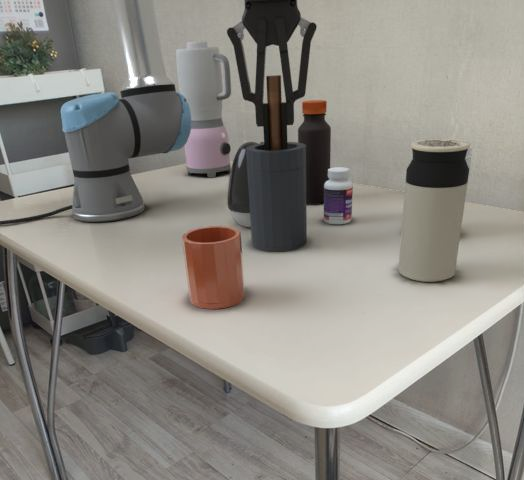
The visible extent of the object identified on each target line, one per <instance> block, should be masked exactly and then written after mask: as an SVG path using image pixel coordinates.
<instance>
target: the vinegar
mask: <svg viewBox="0 0 524 480" xmlns="http://www.w3.org/2000/svg"><path fill="white" fill-rule="evenodd" d="M327 103H328V102H327V100H323V99H312V100H311V99H310V100H304V101H302V102H301V107H302V108H301V111H302V113H301V114H302V117H303V122H302V123H301V124H300V125H299V127H298V129H297V142H298V143H303V144H305V145H306V205H321V204H324V184H325V182H326V181H328V180H329V178H328V169H330V168H331V152H332V151H331V149H332V148H331V147H332V146H331V145H332V143H331V142H332V139H331V137H332V127H331V125H330V124H329V123H328V122H327V121H326V115H327Z"/></svg>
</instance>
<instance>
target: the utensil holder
mask: <svg viewBox="0 0 524 480" xmlns="http://www.w3.org/2000/svg"><path fill="white" fill-rule="evenodd" d="M287 144H288V147H287V149H283V150H264V143H261V144H260V143H259V144H255V145H251V146H249V147H247V148H246V159H247V175H248V191H249V207H250V223H251V228H250V237H251V239H250V240H251V245H252V247H253V248H255V249H256V250H258V251H264V252H274V253H279V252H281V253H282V252H290V251H295V250H298V249H300V248H303V247H304V246H306V244H307V243H308V241H307V240H308V239H307V238H308V237H307V234H308V233H307V232H308V231H307V229H308V227H307V225H308V223H307V204H306V145H305V144H303V143H298V141H287Z"/></svg>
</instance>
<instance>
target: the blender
mask: <svg viewBox="0 0 524 480" xmlns="http://www.w3.org/2000/svg"><path fill="white" fill-rule="evenodd" d="M175 57H176V58H175V59H176V72H177V73H176V74H177V81H178V90H179V93H180V94H182V95H183V96H184V97H185V98H186V100H187V101H186V102H187V103H188V104H189V107H190V112H191V131H190V135H189V138H188V140H187V142H186V144H185V145H184V146H183V148H184V154H185V155H184V156H185V161H186V172H187V176H191V174H206V175H207V178H216V175H217V173H219V172H224V171H227V173H229V174H230V172H231V168H232V166H231V158H230V153H231V145H230V142H229V141H230V140H229V134H228V130H227V129H226V126H225V124H224V121H223V115H222V114H223V101H224V100H227V99H229V98H230V97H231V95H232V80H231V78H232V77H231V68H230V67H231V66H230V60H229V59H228V57H227V56H226V55H224V54H222V53H220V49H219V47H218V46H210V47H208V42H207V41H206V40H205V41H203V40H202V41H189V42H188V41H187V42H186V48H177V49H176V50H175ZM223 86H224V87H223Z"/></svg>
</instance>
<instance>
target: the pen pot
mask: <svg viewBox="0 0 524 480" xmlns="http://www.w3.org/2000/svg"><path fill="white" fill-rule="evenodd" d="M181 243H182V251H183V258H184V266H185V267H184V268H185V275H186V283H187V289H188V295H189V301H190V303H191V304H192V305H193V306H195V307H197V308H200V309H206V310H219V309H225V308H230V307H233V306H236V305H238V304H239V303H241V302H242V301H243V300H244V299H245V297H246V296H245V293H246V292H245V276H244V275H245V274H244V262H243V260H244V259H243V247H242V246H243V245H242V235H241V231H240V230H239V229H237V228H235V227H231V226H226V225H225V226H223V225H212V226H211V225H210V226H203V227H198V228H194V229H190V230H188V231H186V232H184V233H183V234H182V236H181Z"/></svg>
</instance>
